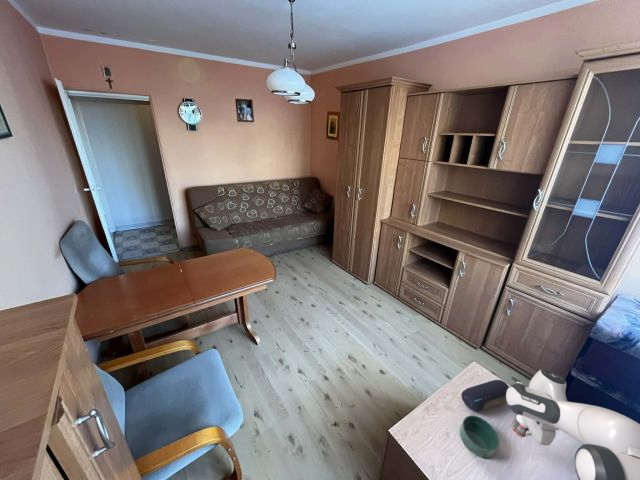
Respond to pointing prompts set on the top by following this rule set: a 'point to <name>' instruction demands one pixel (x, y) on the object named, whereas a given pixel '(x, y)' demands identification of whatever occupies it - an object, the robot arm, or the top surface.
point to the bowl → (479, 436)
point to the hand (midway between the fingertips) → (521, 424)
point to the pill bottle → (519, 426)
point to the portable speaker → (485, 395)
